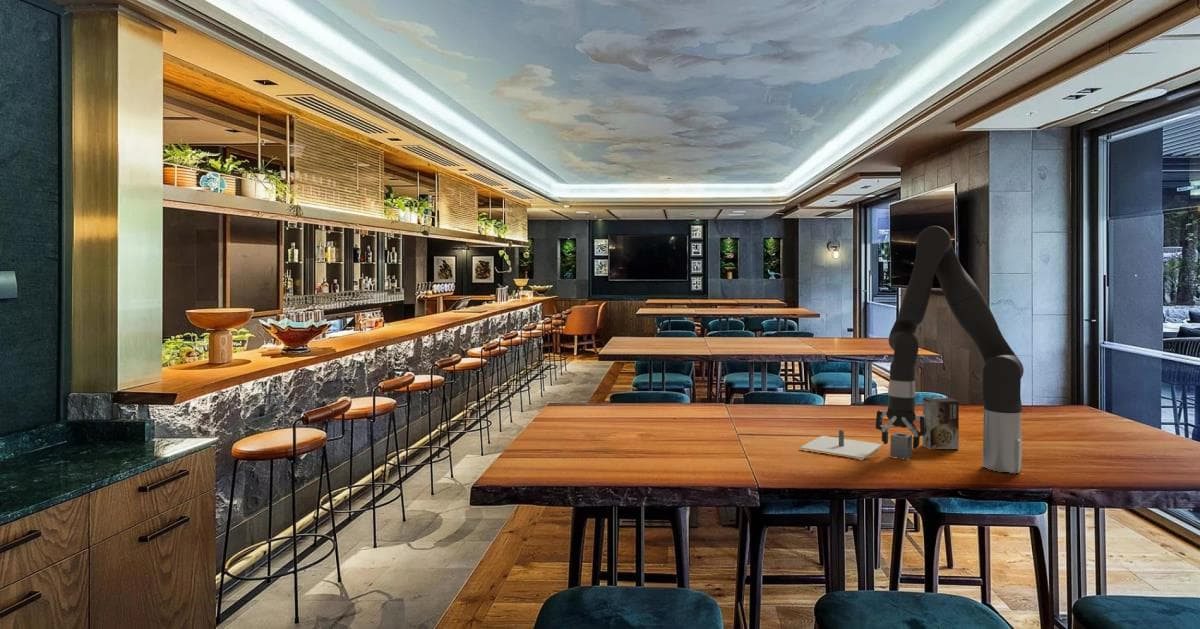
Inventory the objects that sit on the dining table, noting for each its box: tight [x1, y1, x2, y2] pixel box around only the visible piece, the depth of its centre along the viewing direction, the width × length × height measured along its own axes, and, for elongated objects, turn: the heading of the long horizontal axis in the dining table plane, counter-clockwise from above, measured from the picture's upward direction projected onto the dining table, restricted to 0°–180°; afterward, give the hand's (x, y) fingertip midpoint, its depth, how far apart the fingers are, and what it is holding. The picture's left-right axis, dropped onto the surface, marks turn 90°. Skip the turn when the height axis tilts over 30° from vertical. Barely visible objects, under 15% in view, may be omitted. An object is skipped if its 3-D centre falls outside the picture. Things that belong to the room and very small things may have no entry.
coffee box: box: [922, 397, 960, 450], centre depth 207 cm, size 9×6×16 cm
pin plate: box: [799, 429, 883, 460], centre depth 207 cm, size 20×20×6 cm
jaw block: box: [889, 432, 913, 459], centre depth 196 cm, size 5×5×7 cm
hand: (900, 445), depth 197 cm, fingers open, 8 cm apart
